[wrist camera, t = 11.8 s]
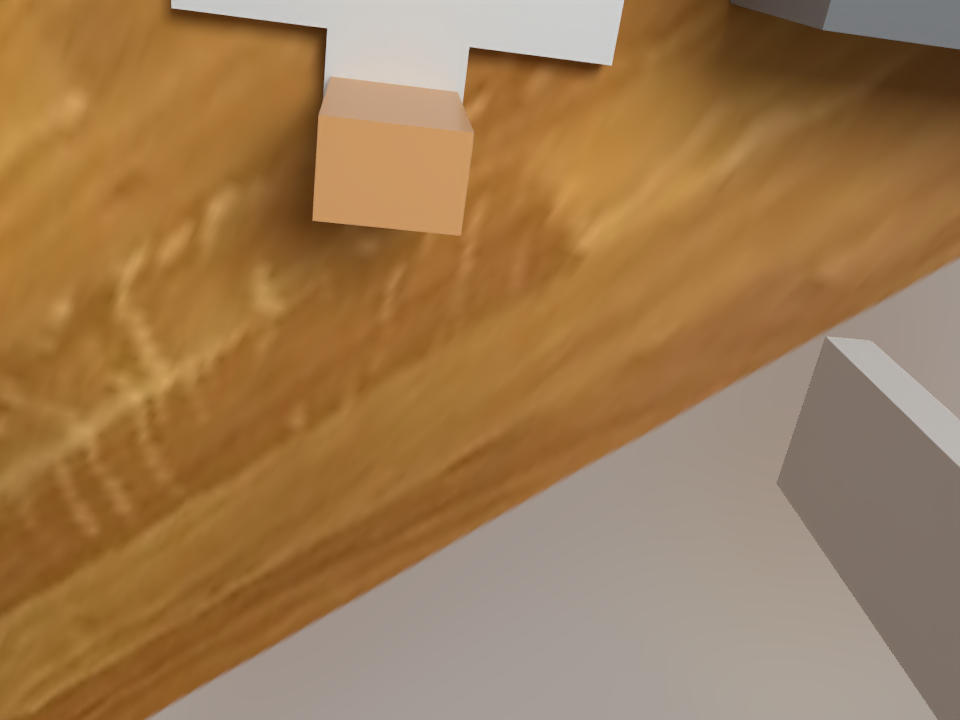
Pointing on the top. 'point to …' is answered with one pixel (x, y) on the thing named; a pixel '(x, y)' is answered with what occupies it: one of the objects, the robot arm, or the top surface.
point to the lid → (415, 92)
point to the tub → (872, 18)
